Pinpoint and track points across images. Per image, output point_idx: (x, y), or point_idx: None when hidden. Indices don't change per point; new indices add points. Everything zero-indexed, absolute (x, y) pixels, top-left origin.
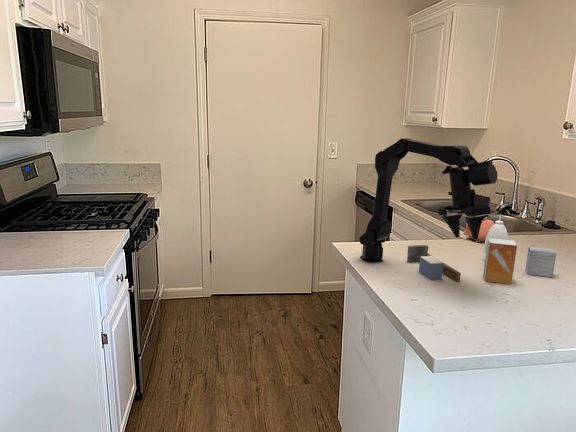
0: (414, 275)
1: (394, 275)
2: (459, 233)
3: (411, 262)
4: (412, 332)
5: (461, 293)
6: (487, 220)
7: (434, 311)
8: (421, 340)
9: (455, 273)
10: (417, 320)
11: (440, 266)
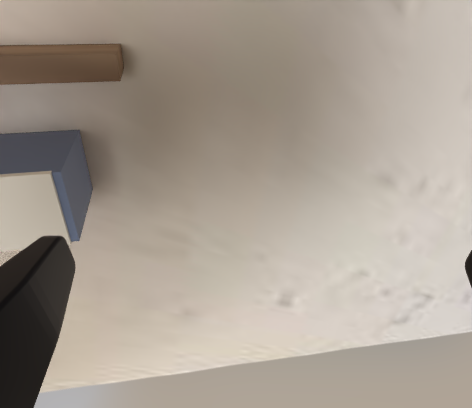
0: None
1: None
2: (41, 270)
3: None
4: (436, 336)
5: (275, 124)
6: None
7: (375, 272)
8: (468, 329)
9: (99, 79)
10: (398, 318)
11: (69, 180)
